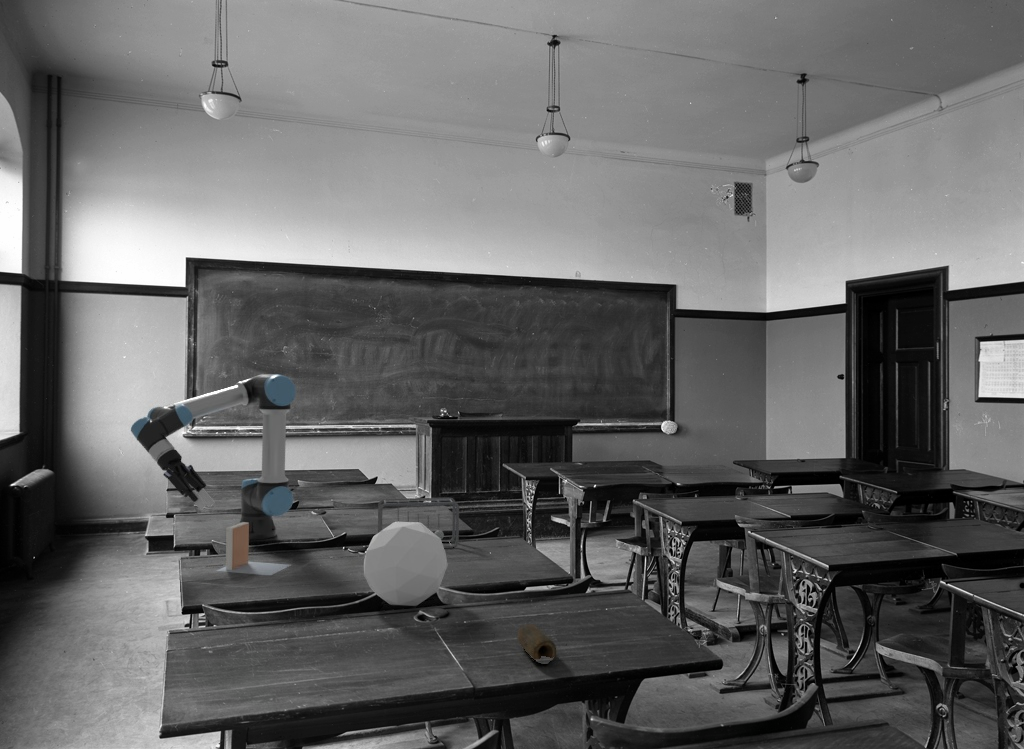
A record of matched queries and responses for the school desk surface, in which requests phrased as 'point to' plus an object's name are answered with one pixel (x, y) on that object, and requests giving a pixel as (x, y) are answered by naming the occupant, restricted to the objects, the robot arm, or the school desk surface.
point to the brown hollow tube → (536, 642)
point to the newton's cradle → (438, 532)
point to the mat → (257, 568)
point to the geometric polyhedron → (405, 563)
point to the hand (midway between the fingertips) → (207, 506)
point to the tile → (237, 545)
